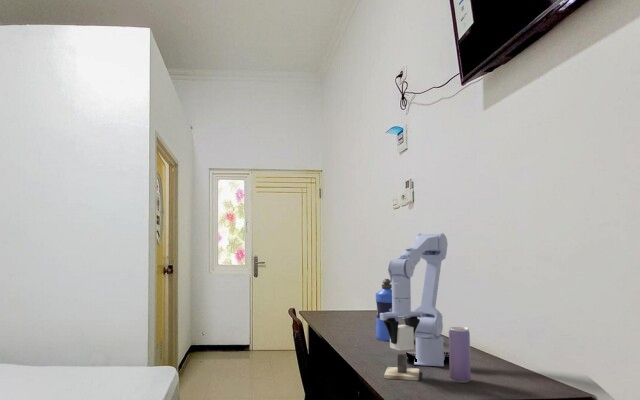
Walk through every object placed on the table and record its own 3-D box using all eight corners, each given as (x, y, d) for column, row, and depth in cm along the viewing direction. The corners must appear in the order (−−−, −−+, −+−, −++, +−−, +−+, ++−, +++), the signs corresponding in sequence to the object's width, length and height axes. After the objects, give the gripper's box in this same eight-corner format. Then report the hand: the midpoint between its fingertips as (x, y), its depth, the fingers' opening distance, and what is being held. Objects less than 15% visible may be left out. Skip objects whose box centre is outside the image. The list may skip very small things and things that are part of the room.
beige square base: (419, 371, 156) (419, 352, 156) (418, 380, 146) (418, 359, 147) (387, 370, 158) (387, 350, 159) (384, 378, 148) (384, 357, 149)
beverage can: (467, 384, 142) (466, 331, 144) (447, 381, 145) (446, 329, 147) (473, 379, 147) (471, 327, 149) (453, 376, 150) (452, 326, 152)
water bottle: (402, 338, 210) (401, 278, 212) (392, 342, 202) (392, 280, 204) (381, 336, 215) (381, 277, 217) (372, 339, 207) (371, 279, 209)
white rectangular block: (404, 345, 156) (403, 324, 157) (413, 349, 152) (413, 327, 152) (390, 347, 154) (389, 325, 155) (399, 350, 150) (399, 328, 150)
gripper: (413, 295, 161) (413, 338, 160) (374, 297, 155) (374, 342, 154) (426, 297, 154) (427, 342, 153) (386, 299, 148) (387, 346, 147)
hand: (401, 342), depth 153 cm, fingers closed on white rectangular block, 5 cm apart
